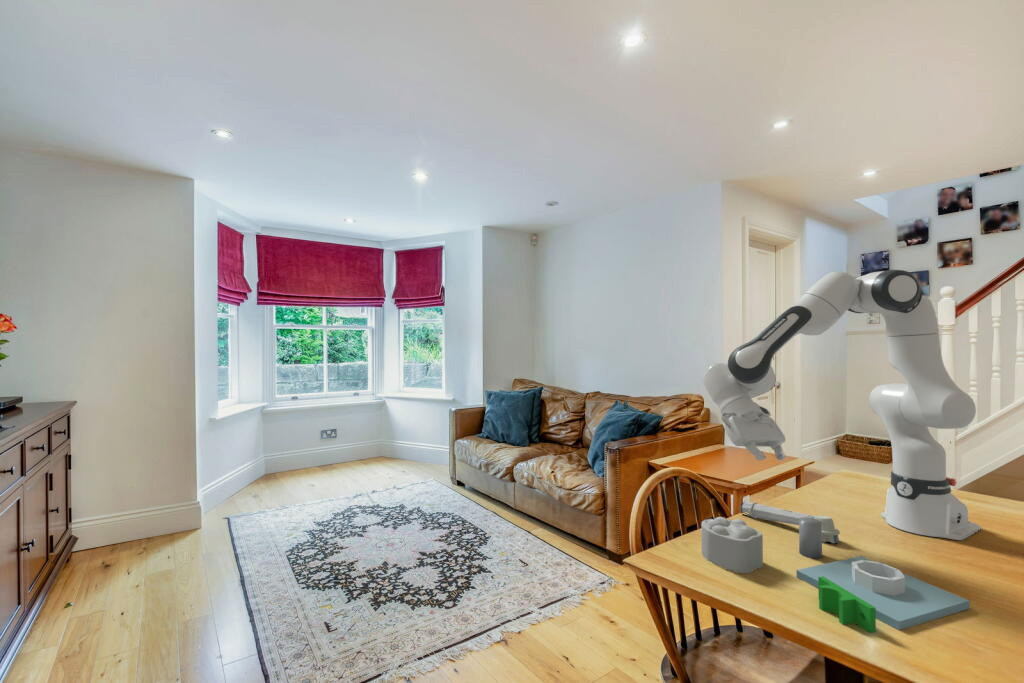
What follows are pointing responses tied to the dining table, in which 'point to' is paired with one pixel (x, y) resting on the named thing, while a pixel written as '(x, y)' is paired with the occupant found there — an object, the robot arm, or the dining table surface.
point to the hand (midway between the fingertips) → (772, 459)
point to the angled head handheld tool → (790, 518)
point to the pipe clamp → (846, 605)
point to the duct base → (891, 605)
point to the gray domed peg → (810, 537)
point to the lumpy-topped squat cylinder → (732, 544)
